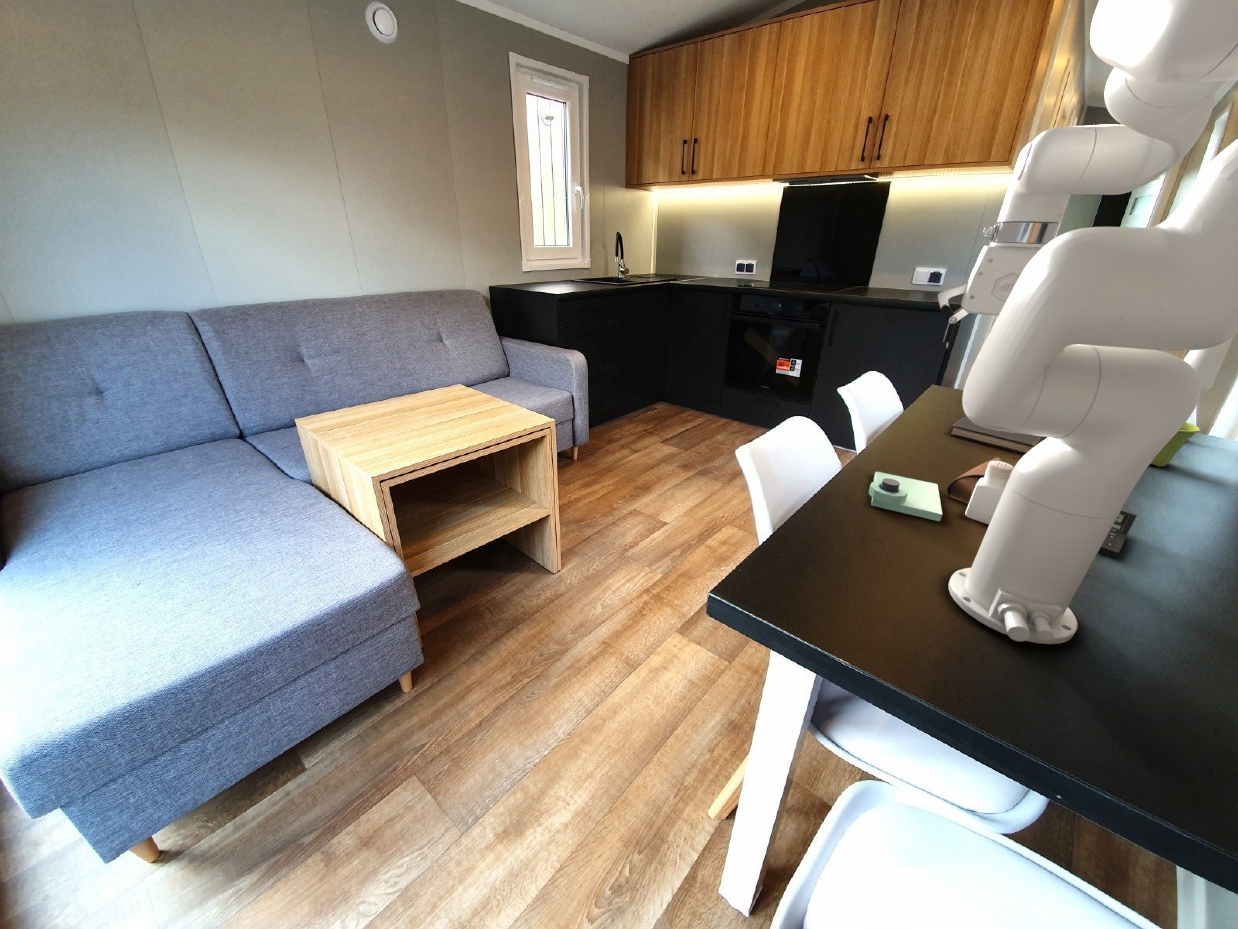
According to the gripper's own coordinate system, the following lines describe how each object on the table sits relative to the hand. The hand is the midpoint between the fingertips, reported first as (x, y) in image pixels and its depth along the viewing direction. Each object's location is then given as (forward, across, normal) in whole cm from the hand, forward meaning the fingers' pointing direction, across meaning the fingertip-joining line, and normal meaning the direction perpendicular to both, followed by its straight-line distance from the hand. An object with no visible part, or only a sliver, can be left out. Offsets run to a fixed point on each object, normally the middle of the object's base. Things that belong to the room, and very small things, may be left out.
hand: (982, 351), depth 81 cm
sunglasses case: (+24, +8, 0) cm, 26 cm away
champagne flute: (+24, +49, +59) cm, 81 cm away
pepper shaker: (+24, +6, -12) cm, 28 cm away
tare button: (+22, -8, -15) cm, 28 cm away
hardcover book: (+24, +15, +39) cm, 48 cm away
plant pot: (+24, +40, +36) cm, 59 cm away
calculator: (+24, +20, -7) cm, 32 cm away
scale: (+24, -5, -11) cm, 27 cm away
